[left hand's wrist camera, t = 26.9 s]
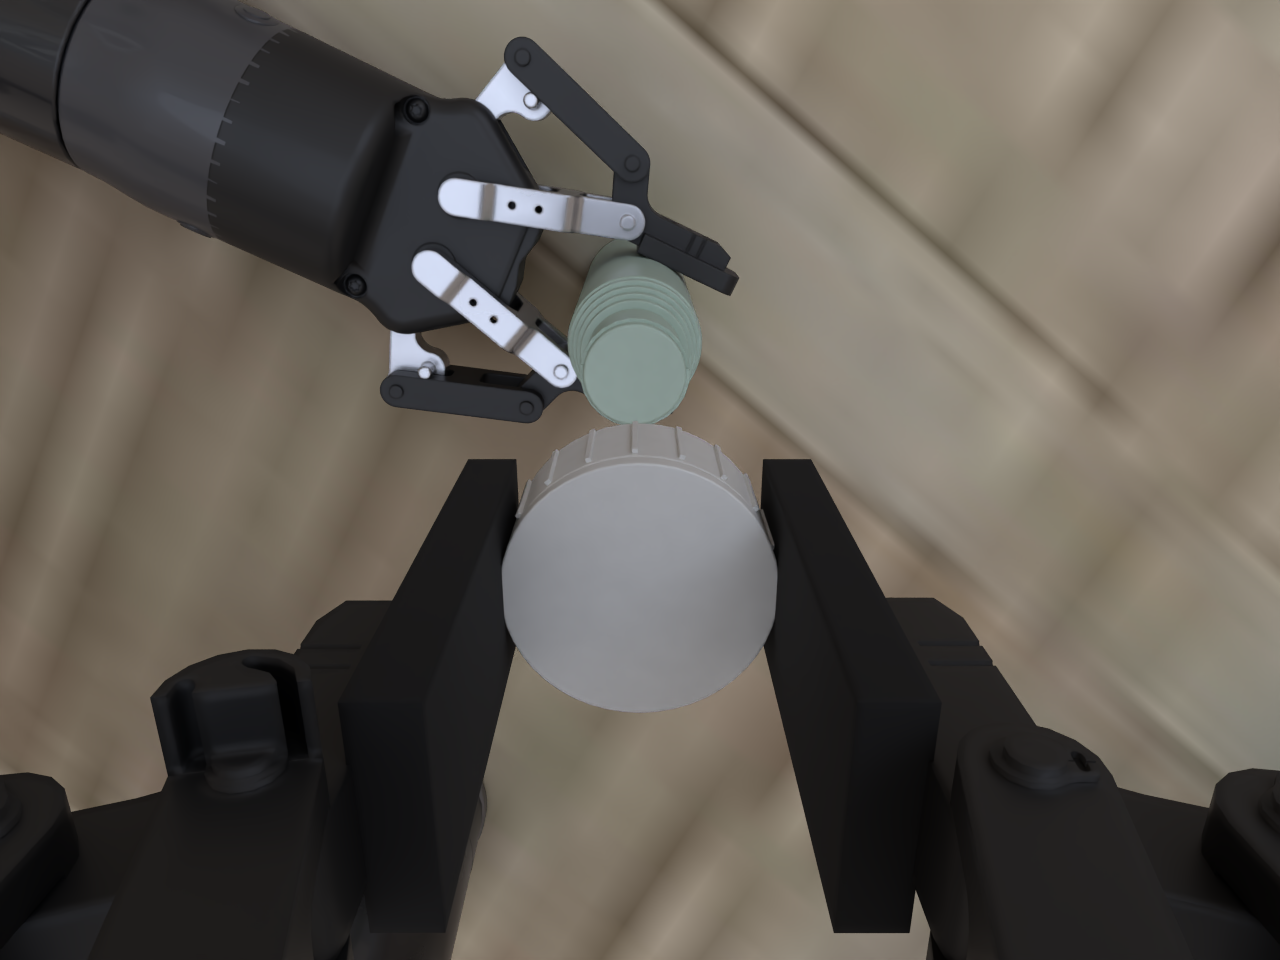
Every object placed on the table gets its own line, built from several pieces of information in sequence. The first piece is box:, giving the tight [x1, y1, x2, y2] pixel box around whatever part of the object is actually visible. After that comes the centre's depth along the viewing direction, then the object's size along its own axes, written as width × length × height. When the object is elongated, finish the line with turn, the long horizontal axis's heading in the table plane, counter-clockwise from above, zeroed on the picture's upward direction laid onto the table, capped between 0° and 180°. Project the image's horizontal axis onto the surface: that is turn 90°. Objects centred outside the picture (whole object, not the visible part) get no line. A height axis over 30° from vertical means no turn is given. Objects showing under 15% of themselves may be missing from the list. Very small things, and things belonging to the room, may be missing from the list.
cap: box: [502, 421, 778, 713], centre depth 14 cm, size 4×4×2 cm
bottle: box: [567, 239, 702, 425], centre depth 31 cm, size 4×4×16 cm
